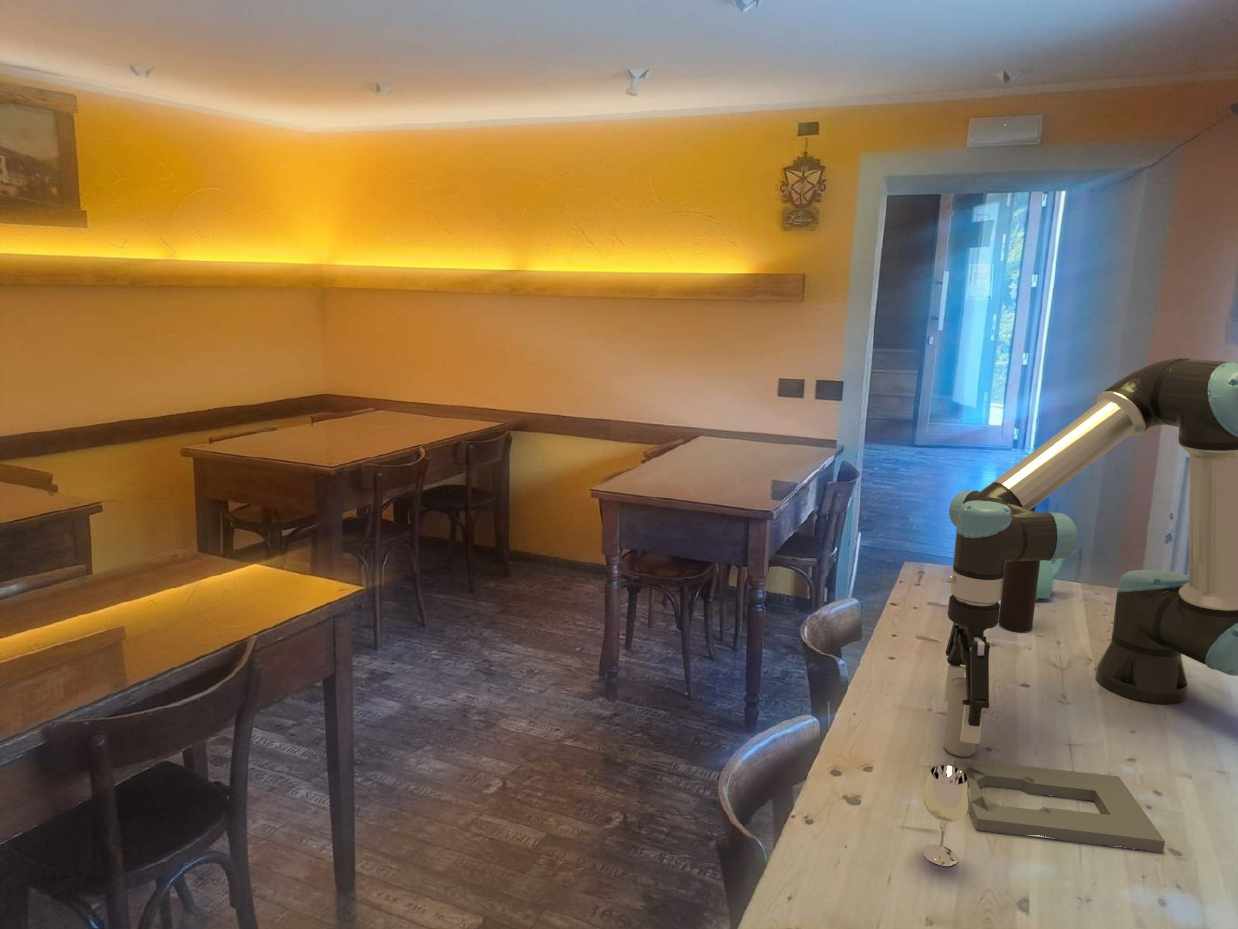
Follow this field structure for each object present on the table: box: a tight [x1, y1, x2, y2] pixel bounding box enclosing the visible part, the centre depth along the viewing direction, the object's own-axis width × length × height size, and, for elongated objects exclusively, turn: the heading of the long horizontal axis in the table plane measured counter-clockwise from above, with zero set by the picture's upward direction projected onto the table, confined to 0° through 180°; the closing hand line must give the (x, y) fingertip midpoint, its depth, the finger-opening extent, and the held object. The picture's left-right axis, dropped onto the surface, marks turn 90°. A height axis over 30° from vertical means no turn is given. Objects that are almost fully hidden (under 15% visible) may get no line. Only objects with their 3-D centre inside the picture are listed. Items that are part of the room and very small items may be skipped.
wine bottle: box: [998, 505, 1040, 633], centre depth 190 cm, size 7×7×30 cm
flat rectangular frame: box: [953, 757, 1166, 854], centre depth 124 cm, size 24×16×2 cm, turn 79°
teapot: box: [1035, 550, 1076, 602], centre depth 214 cm, size 18×16×14 cm
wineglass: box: [922, 764, 970, 866], centre depth 111 cm, size 6×6×12 cm
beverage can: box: [943, 677, 976, 758], centre depth 138 cm, size 5×5×12 cm
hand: (960, 721), depth 138 cm, fingers open, 13 cm apart
